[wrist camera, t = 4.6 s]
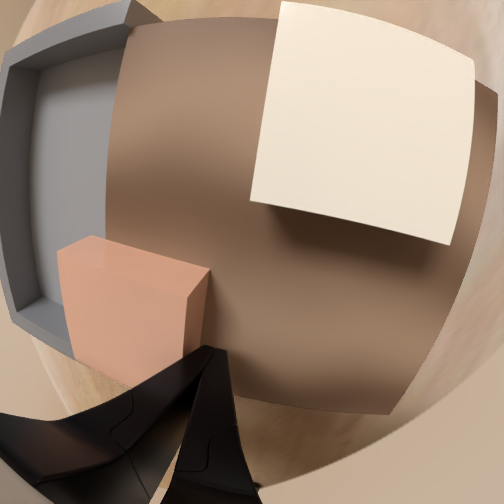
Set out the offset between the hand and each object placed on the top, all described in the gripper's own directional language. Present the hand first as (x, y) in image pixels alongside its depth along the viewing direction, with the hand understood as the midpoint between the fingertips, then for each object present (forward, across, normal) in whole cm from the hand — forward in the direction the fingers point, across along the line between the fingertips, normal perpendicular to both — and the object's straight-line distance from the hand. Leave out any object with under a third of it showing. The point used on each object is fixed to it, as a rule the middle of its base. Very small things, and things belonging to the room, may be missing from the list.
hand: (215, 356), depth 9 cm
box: (+4, +9, -4) cm, 10 cm away
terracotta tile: (+1, +3, 0) cm, 3 cm away
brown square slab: (+4, -2, -4) cm, 6 cm away
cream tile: (+1, -3, -8) cm, 9 cm away
